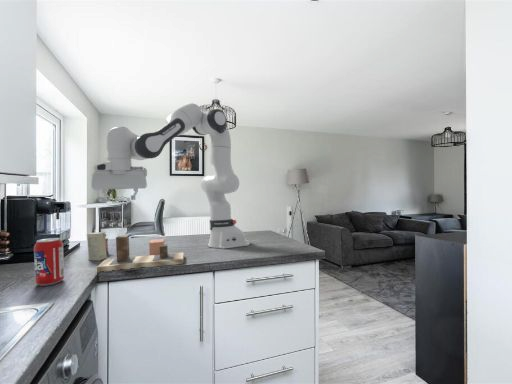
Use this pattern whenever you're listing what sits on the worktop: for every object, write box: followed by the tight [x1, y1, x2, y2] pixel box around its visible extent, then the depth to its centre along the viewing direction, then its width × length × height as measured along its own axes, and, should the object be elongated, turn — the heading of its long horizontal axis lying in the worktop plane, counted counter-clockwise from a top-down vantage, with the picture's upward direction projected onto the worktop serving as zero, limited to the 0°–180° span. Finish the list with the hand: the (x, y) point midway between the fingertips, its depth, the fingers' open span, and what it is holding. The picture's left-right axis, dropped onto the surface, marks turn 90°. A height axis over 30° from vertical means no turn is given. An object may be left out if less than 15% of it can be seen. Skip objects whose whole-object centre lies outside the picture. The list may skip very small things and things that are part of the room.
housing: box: [148, 238, 165, 255], centre depth 125 cm, size 6×8×7 cm
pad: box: [109, 256, 136, 265], centre depth 110 cm, size 8×9×1 cm
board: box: [96, 244, 184, 273], centre depth 112 cm, size 32×12×7 cm, turn 105°
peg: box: [115, 234, 131, 262], centre depth 110 cm, size 4×4×10 cm
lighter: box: [105, 233, 109, 255], centre depth 130 cm, size 8×3×10 cm, turn 129°
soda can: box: [33, 237, 65, 287], centre depth 91 cm, size 8×8×15 cm
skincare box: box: [86, 231, 107, 262], centre depth 121 cm, size 6×4×12 cm
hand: (120, 200), depth 109 cm, fingers open, 8 cm apart
